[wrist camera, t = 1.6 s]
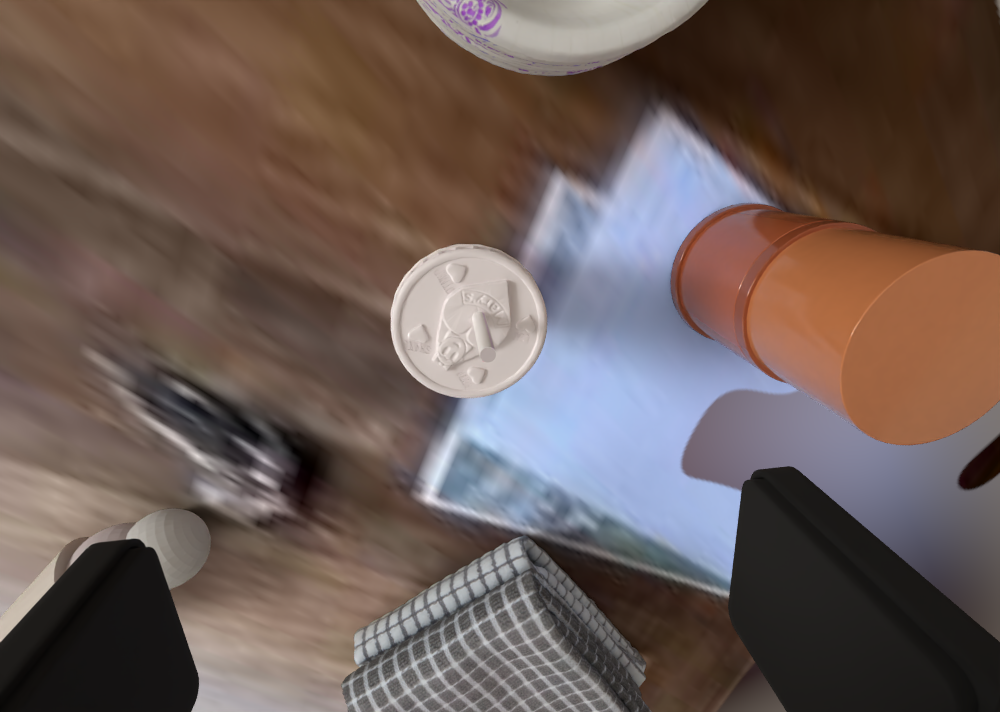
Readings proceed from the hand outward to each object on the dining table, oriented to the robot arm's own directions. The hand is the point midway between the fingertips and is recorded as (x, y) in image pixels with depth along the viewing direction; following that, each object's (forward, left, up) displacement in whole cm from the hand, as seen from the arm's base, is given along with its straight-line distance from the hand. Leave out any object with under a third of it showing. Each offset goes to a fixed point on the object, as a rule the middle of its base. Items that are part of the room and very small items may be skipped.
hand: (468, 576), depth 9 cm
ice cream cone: (+12, -25, -23) cm, 37 cm away
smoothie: (0, +1, -23) cm, 23 cm away
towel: (+28, -3, -23) cm, 37 cm away
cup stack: (+4, +17, -23) cm, 29 cm away
